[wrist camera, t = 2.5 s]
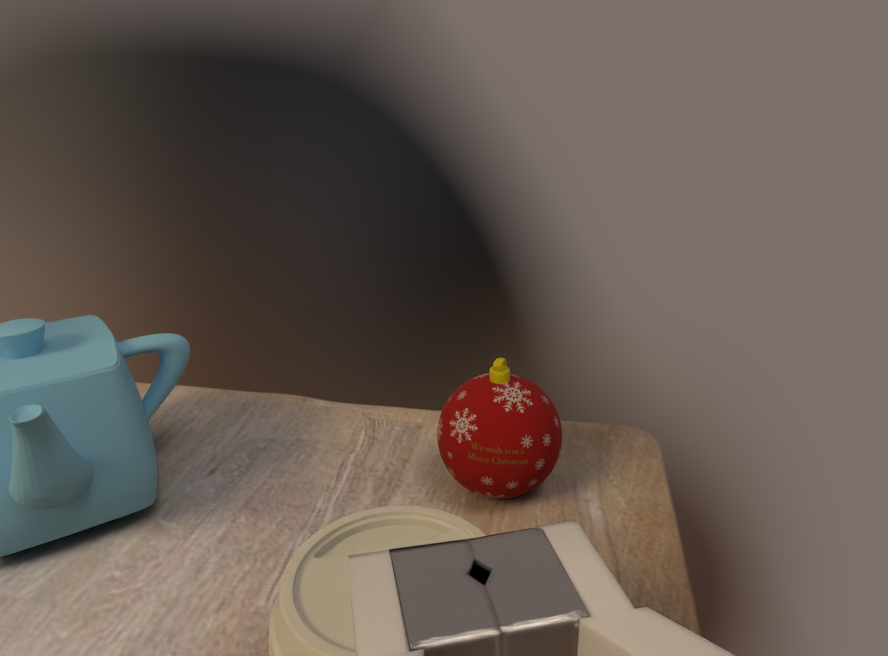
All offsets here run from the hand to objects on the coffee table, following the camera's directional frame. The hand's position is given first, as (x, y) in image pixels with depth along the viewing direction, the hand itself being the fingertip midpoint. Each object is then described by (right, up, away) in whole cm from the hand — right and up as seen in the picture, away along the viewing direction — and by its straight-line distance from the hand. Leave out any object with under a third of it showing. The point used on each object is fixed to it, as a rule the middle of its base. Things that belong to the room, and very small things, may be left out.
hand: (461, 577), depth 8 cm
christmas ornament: (+4, -8, +38) cm, 39 cm away
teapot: (-26, -10, +36) cm, 46 cm away
